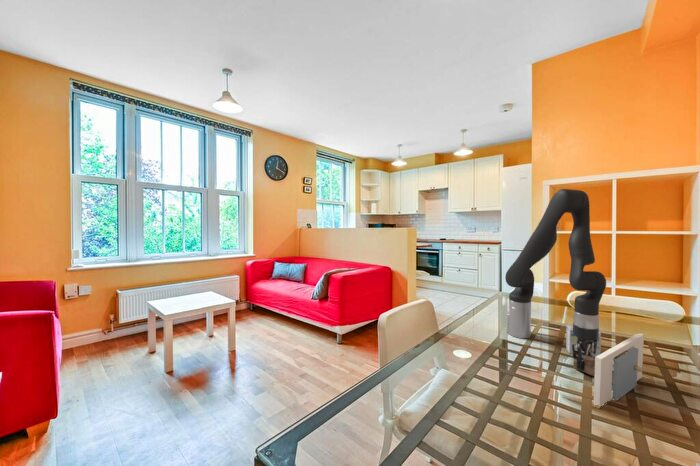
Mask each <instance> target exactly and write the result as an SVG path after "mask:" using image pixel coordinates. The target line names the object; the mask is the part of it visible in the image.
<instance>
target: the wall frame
mask: <svg viewBox="0 0 700 466" xmlns="http://www.w3.org/2000/svg"><path fill="white" fill-rule="evenodd" d="M644 338H645V334H644V333H640V332H639V333H636V334H634V335H631V336H630V337H629V338H627V339H625V340H623V341H622V342H620V343H618V344H616V345H613V347H611V348H609V349H607V350H605V351H604V352H601V354H600V355H598V356H596V357H594V358H595V376H593V377H594V379H593V404H594V405H599V406H601V405H603V404H604V403H605V402H607V401H609V402H610V400H611V401H612V394H613V384H612V370H614V359H615V358H616V357H619V355H622V354H624V352H628V351H630V350H631V349H633V348H638V366H640V367H642V368H643V363H644V361H643V360H644V344H645V343H644V341H645V339H644ZM627 350H628V351H627ZM642 377H643V371H642V372H639V371H637V382H638V381H639V380H640V379H642Z"/></svg>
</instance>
